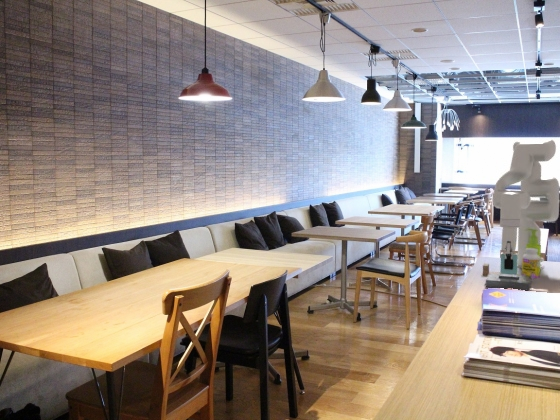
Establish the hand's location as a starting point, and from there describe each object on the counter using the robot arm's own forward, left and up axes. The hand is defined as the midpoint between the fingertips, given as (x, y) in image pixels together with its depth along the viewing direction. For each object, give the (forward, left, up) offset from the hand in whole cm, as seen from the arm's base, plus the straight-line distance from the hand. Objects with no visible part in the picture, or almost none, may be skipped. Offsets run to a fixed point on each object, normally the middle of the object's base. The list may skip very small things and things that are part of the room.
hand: (509, 267), depth 219 cm
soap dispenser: (-27, -7, -7) cm, 29 cm away
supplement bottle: (-18, -2, -7) cm, 20 cm away
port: (0, 0, -7) cm, 7 cm away
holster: (-10, -13, -7) cm, 18 cm away
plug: (0, 0, -2) cm, 2 cm away
